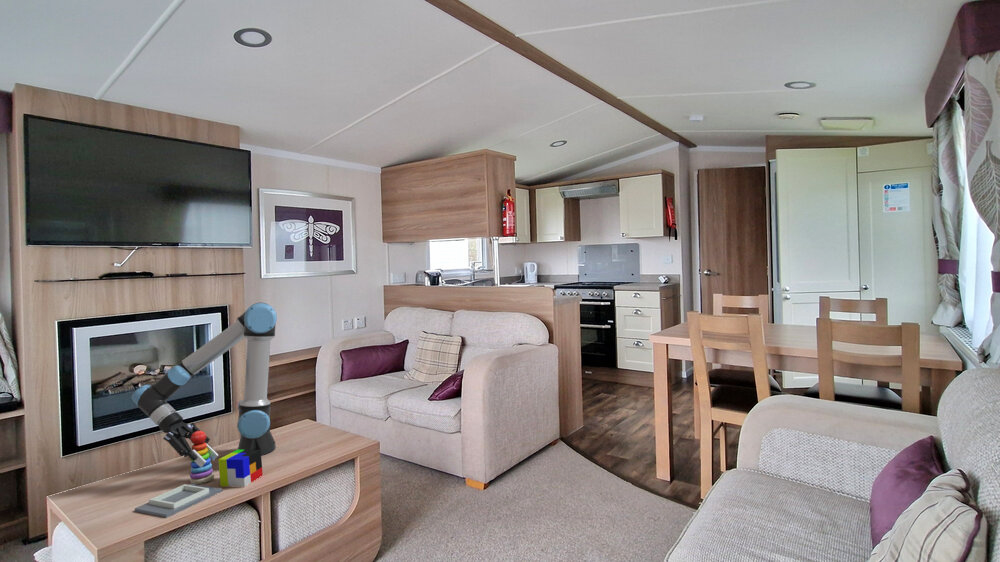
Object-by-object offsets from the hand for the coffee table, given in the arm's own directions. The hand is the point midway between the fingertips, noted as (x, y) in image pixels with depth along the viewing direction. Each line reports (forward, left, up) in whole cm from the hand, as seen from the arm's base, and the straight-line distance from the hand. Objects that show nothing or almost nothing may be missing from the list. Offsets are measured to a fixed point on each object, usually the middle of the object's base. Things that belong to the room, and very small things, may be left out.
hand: (209, 461), depth 195 cm
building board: (+16, +5, -7) cm, 18 cm away
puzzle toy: (-3, +12, -8) cm, 15 cm away
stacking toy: (+1, -4, -8) cm, 8 cm away
